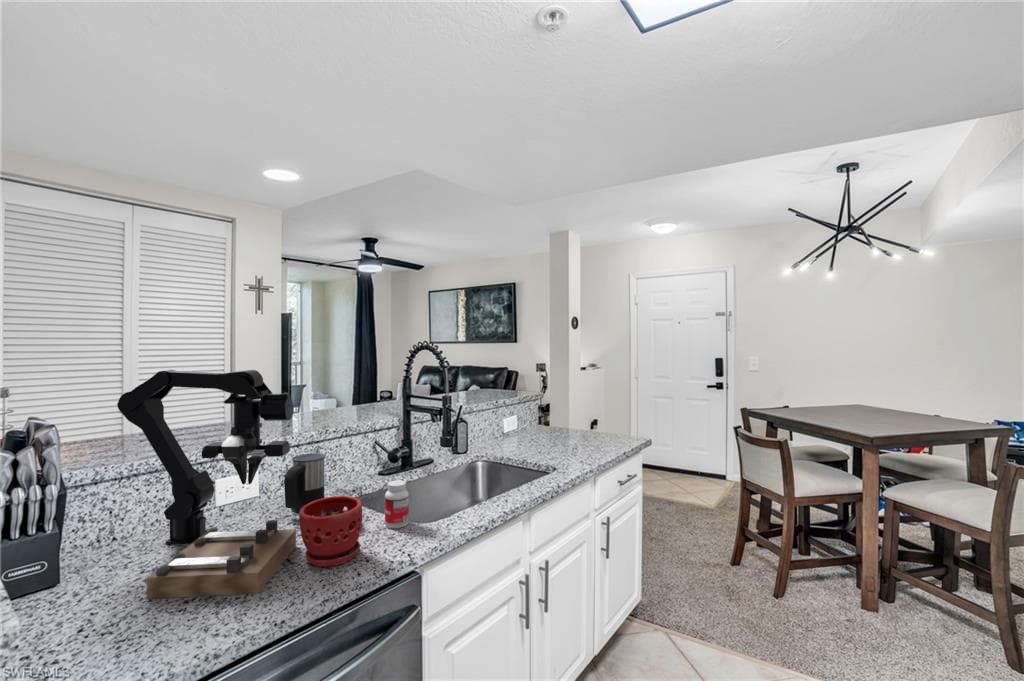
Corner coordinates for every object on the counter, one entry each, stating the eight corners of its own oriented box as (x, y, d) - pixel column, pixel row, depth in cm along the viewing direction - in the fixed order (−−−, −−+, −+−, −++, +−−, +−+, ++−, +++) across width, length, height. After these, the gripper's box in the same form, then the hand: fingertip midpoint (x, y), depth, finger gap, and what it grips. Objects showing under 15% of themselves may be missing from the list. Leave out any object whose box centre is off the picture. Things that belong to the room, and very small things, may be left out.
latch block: (146, 598, 90) (146, 564, 90) (206, 549, 111) (206, 521, 111) (258, 593, 92) (258, 559, 92) (295, 546, 113) (295, 518, 113)
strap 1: (166, 569, 93) (166, 565, 93) (175, 562, 96) (175, 558, 96) (242, 566, 94) (242, 562, 94) (249, 559, 97) (248, 555, 97)
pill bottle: (383, 521, 128) (383, 480, 128) (407, 518, 130) (407, 478, 130) (386, 530, 122) (386, 487, 122) (410, 527, 124) (410, 485, 124)
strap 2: (202, 541, 106) (202, 537, 106) (209, 535, 109) (209, 532, 109) (268, 538, 107) (268, 535, 107) (274, 533, 110) (274, 529, 110)
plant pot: (318, 544, 114) (318, 494, 114) (371, 546, 113) (371, 496, 113) (287, 570, 101) (287, 514, 101) (346, 573, 100) (346, 516, 100)
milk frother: (297, 502, 143) (297, 453, 142) (352, 500, 144) (352, 451, 144) (279, 520, 128) (279, 465, 128) (340, 518, 130) (340, 464, 130)
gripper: (188, 427, 109) (188, 495, 109) (273, 426, 111) (273, 493, 111) (213, 419, 120) (213, 481, 120) (290, 418, 122) (290, 479, 122)
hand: (247, 483), depth 118 cm, fingers closed
